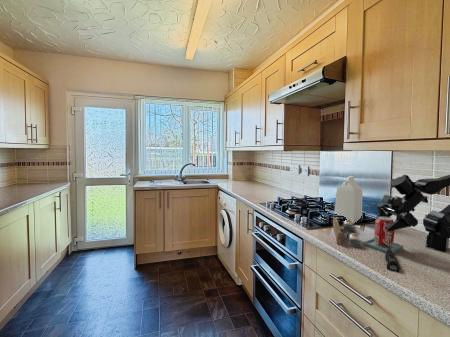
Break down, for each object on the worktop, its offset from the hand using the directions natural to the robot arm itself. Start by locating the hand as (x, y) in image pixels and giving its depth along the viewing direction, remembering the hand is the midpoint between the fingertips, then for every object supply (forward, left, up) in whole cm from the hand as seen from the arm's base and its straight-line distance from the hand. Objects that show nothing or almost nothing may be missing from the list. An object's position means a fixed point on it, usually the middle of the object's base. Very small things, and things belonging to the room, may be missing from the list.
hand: (380, 227), depth 106 cm
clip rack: (+16, -1, -9) cm, 19 cm away
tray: (-1, -1, -9) cm, 9 cm away
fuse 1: (+21, -12, -9) cm, 26 cm away
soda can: (-1, -1, -8) cm, 8 cm away
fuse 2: (+8, +6, -9) cm, 13 cm away
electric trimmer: (-10, +12, -9) cm, 18 cm away
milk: (+31, -29, -9) cm, 44 cm away
